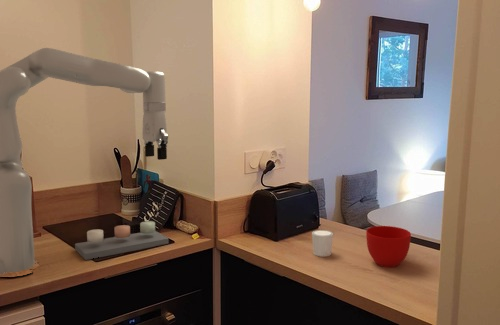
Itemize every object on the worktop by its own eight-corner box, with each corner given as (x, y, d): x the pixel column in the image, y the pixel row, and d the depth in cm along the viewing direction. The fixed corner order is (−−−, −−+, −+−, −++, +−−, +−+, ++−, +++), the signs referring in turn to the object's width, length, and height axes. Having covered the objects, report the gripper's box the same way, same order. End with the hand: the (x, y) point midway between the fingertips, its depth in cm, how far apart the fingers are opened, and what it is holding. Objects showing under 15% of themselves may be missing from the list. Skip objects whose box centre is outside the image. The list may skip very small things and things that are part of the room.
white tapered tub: (332, 257, 145) (333, 236, 144) (310, 256, 146) (311, 235, 145) (333, 250, 151) (333, 230, 150) (312, 249, 153) (312, 229, 152)
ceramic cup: (416, 256, 146) (417, 226, 144) (404, 274, 131) (405, 241, 130) (375, 249, 152) (376, 220, 151) (360, 266, 138) (360, 234, 136)
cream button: (89, 243, 145) (89, 234, 145) (85, 239, 149) (85, 230, 149) (105, 241, 148) (105, 232, 148) (100, 237, 152) (100, 228, 152)
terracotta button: (117, 239, 150) (117, 230, 150) (112, 235, 154) (112, 226, 154) (132, 236, 153) (132, 227, 153) (127, 232, 157) (126, 224, 157)
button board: (85, 260, 142) (85, 253, 141) (75, 249, 151) (74, 243, 151) (168, 244, 158) (168, 238, 157) (154, 235, 167) (154, 230, 167)
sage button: (143, 234, 156) (143, 225, 155) (138, 231, 160) (137, 222, 159) (157, 232, 158) (157, 223, 158) (151, 228, 162) (151, 220, 162)
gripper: (133, 107, 161) (135, 156, 163) (155, 108, 147) (156, 161, 149) (153, 107, 165) (155, 154, 168) (176, 108, 152) (177, 159, 154)
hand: (155, 157), depth 159 cm, fingers open, 9 cm apart
